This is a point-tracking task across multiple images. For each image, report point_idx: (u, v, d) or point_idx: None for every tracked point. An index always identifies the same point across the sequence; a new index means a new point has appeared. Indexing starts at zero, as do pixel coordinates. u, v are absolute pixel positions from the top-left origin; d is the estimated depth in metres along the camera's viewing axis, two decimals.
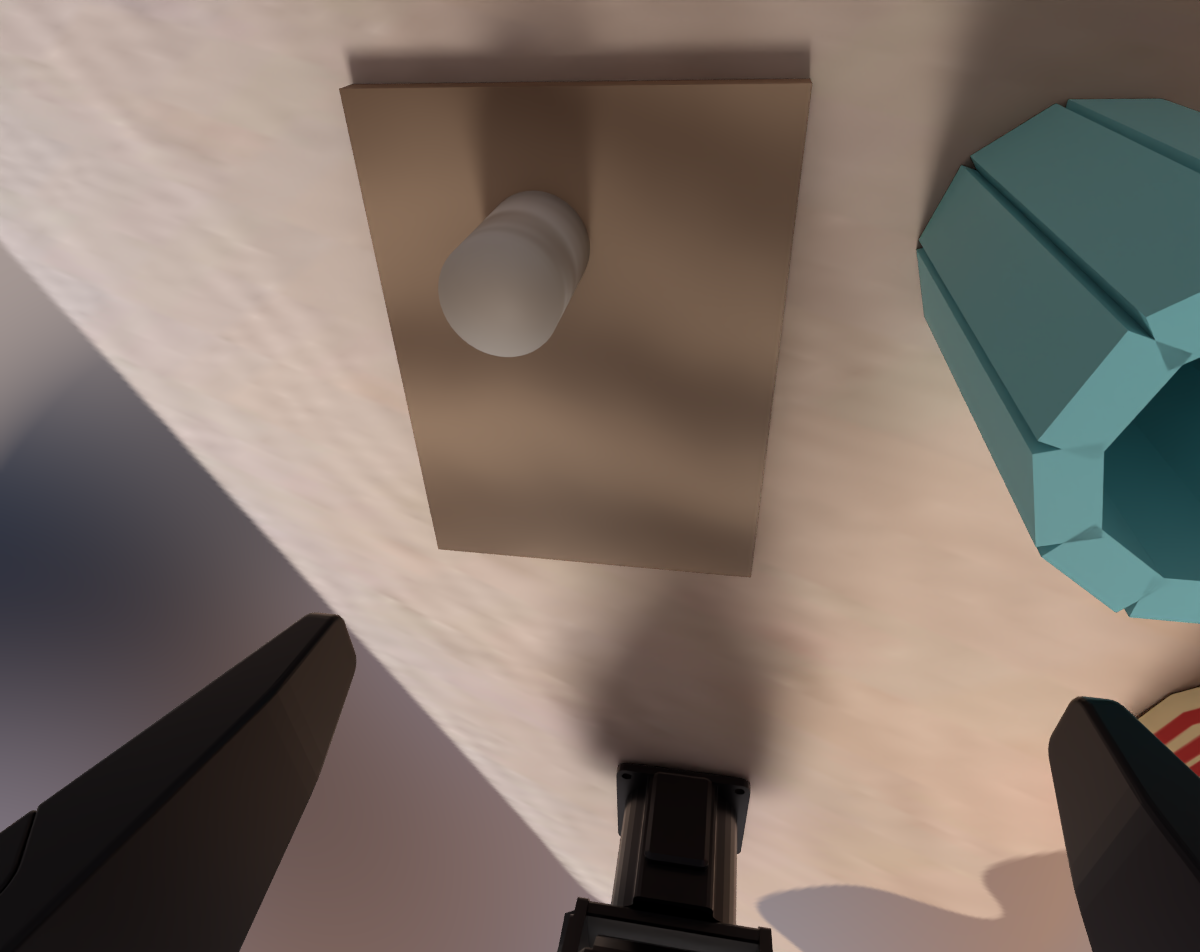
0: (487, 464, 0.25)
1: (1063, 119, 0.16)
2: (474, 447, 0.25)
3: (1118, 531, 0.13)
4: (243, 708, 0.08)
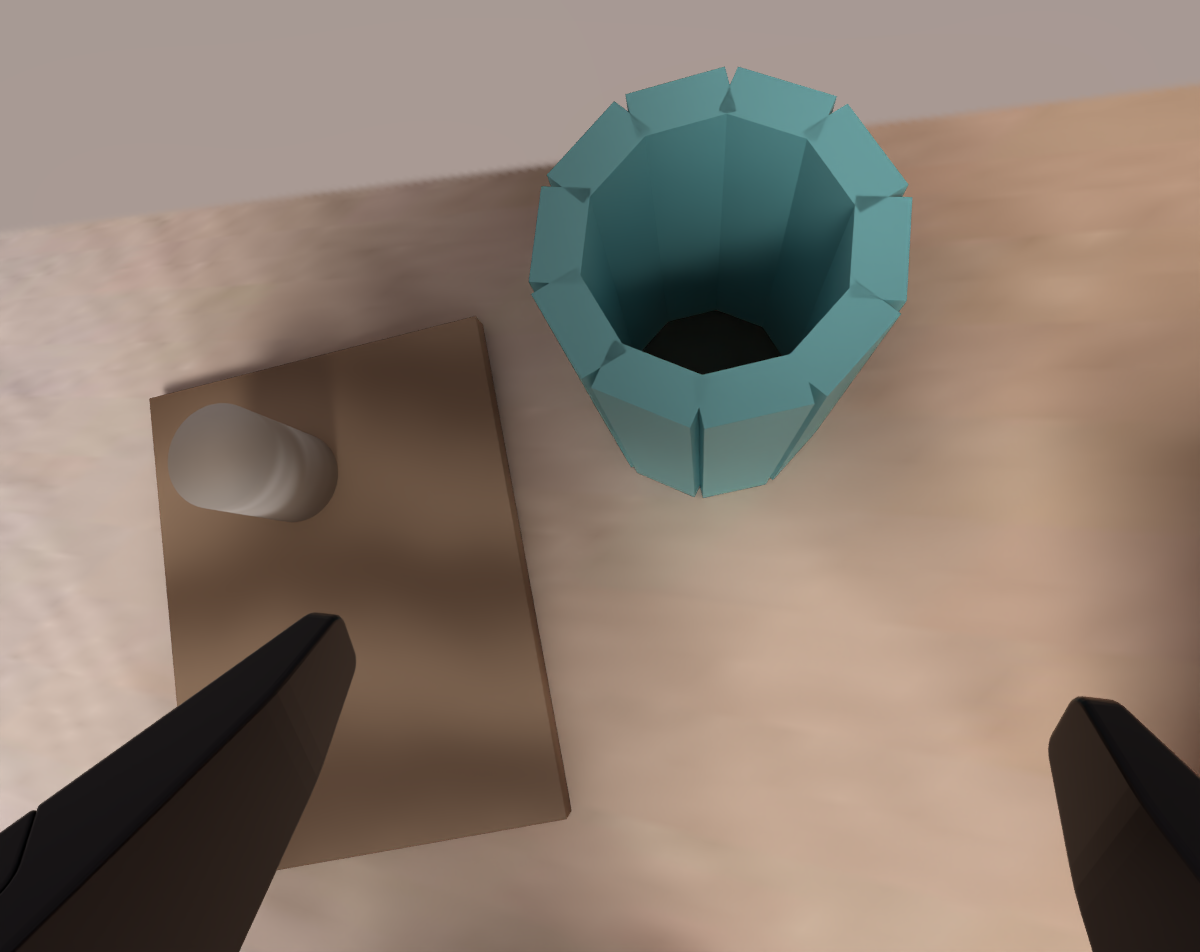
0: None
1: None
2: None
3: None
4: (243, 708, 0.08)
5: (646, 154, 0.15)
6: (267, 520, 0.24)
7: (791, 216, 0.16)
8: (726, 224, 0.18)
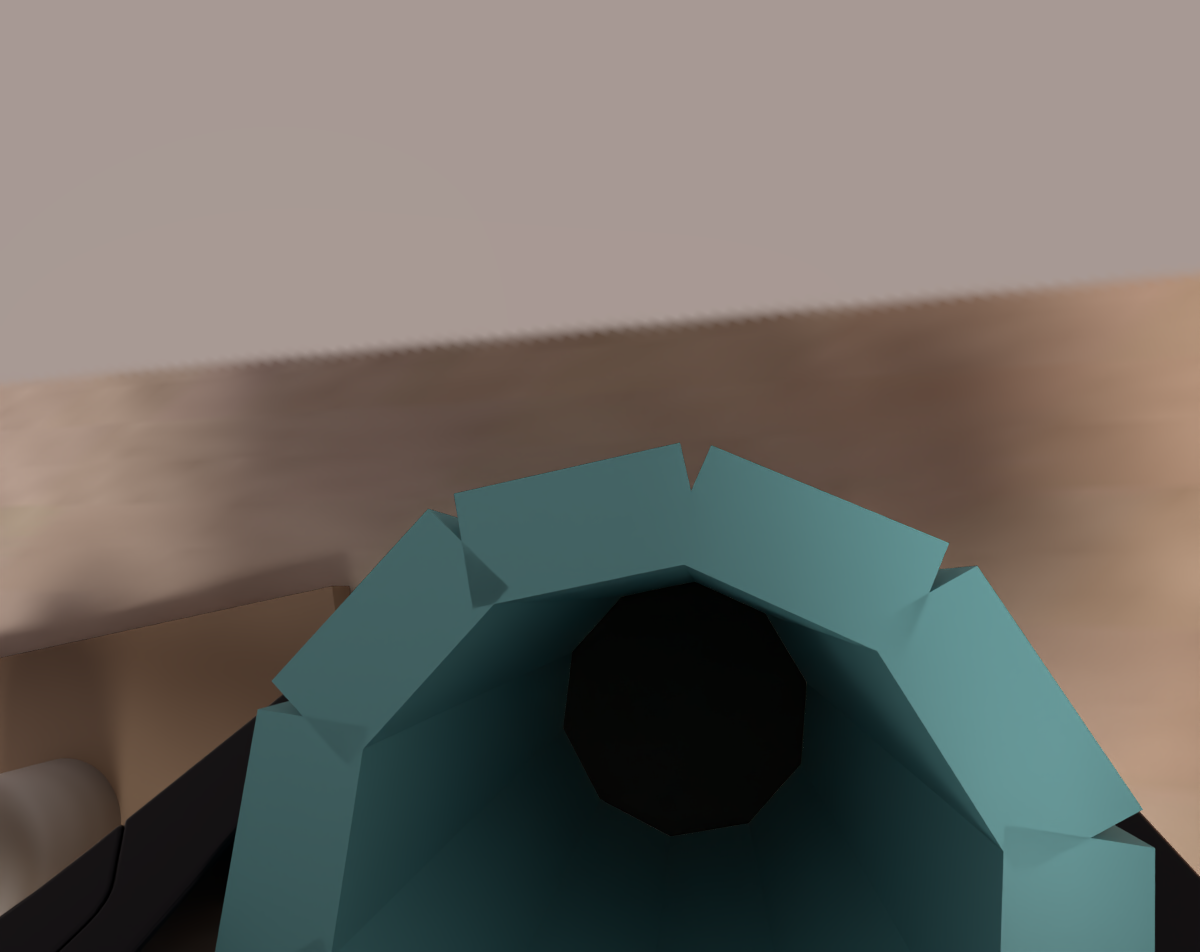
0: None
1: None
2: None
3: None
4: None
5: (510, 603, 0.07)
6: None
7: (823, 633, 0.08)
8: (700, 580, 0.10)
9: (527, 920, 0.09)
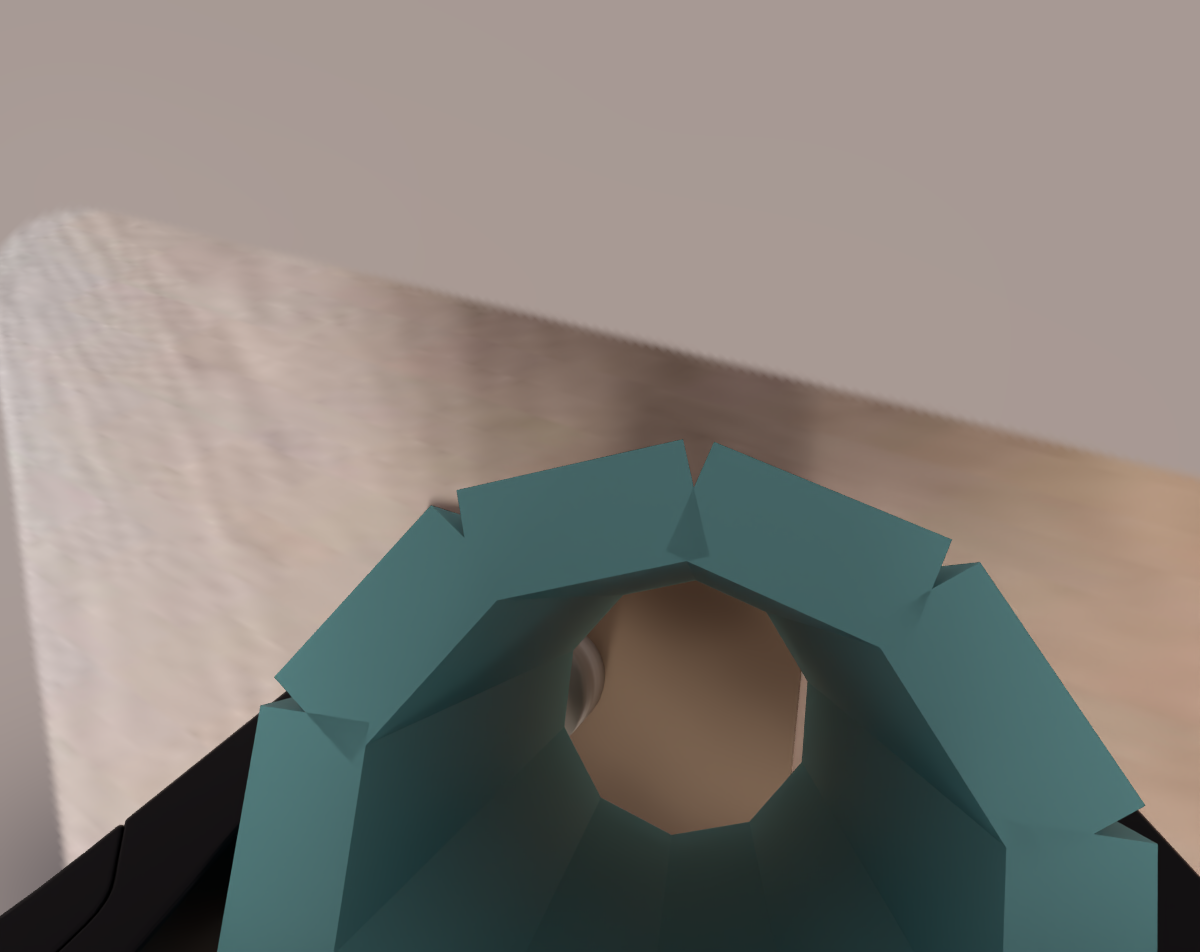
0: None
1: None
2: None
3: None
4: None
5: (512, 600, 0.07)
6: None
7: (825, 631, 0.08)
8: (702, 578, 0.10)
9: (529, 917, 0.09)
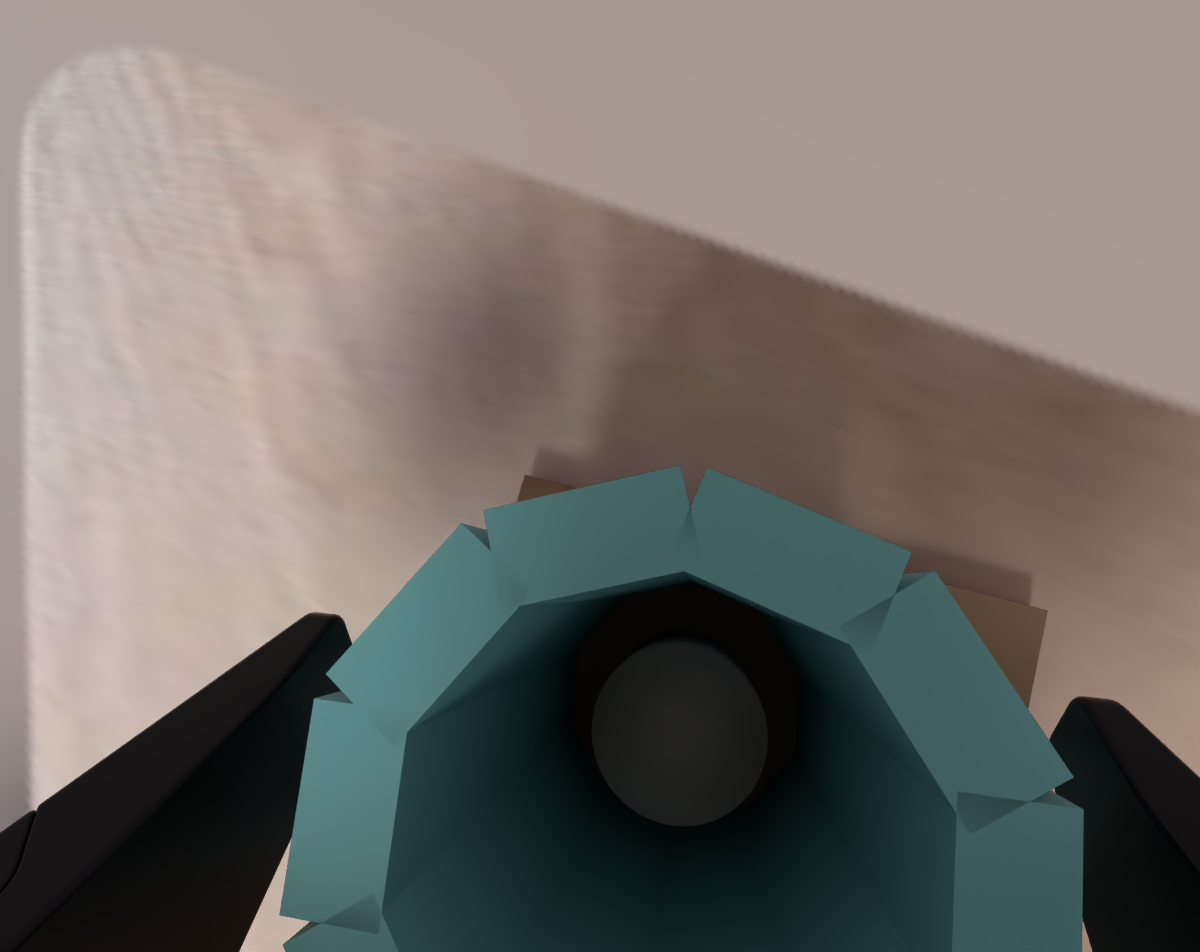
0: None
1: None
2: None
3: None
4: (243, 708, 0.08)
5: (531, 606, 0.08)
6: None
7: (809, 630, 0.09)
8: (699, 582, 0.11)
9: (543, 892, 0.10)
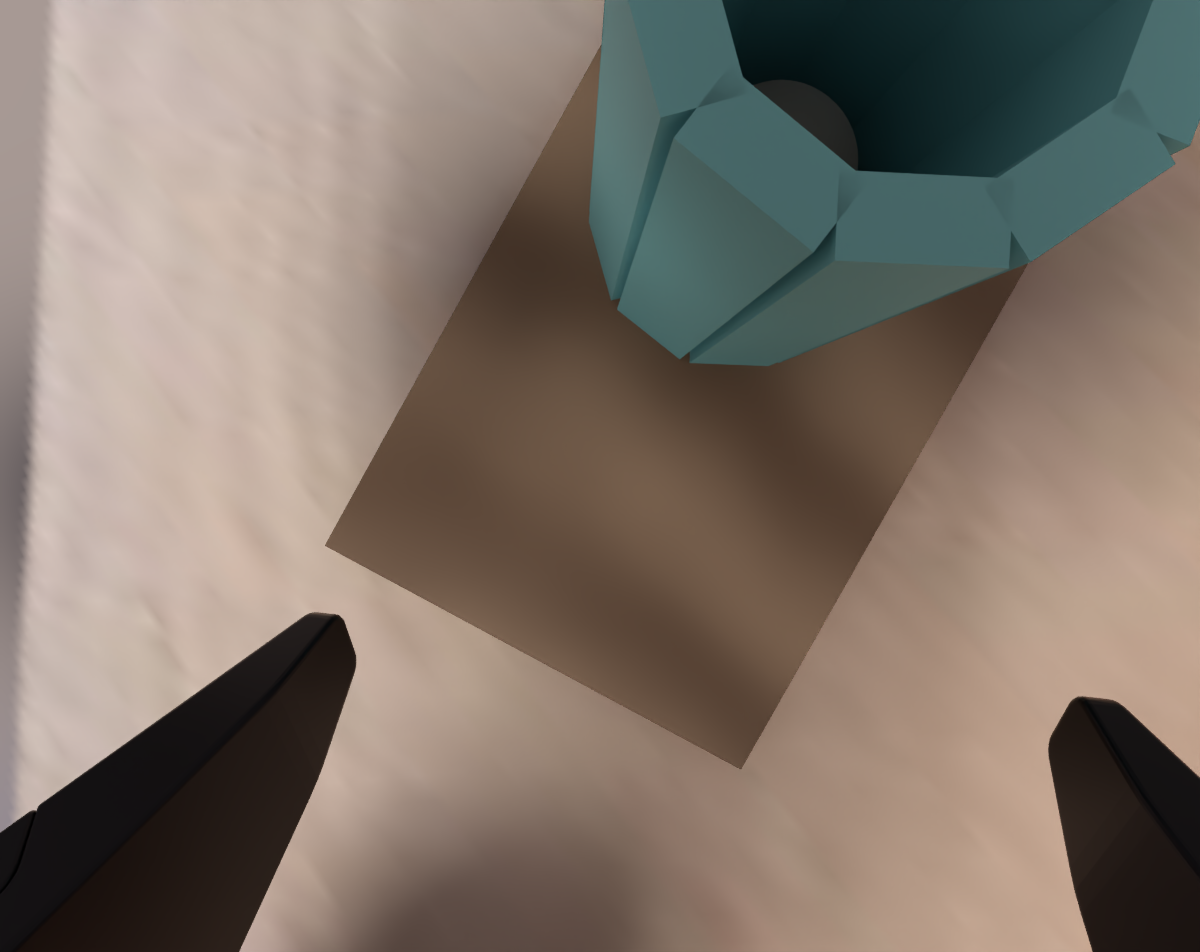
0: (497, 445, 0.18)
1: None
2: (497, 415, 0.18)
3: None
4: (243, 708, 0.08)
5: None
6: None
7: None
8: None
9: None
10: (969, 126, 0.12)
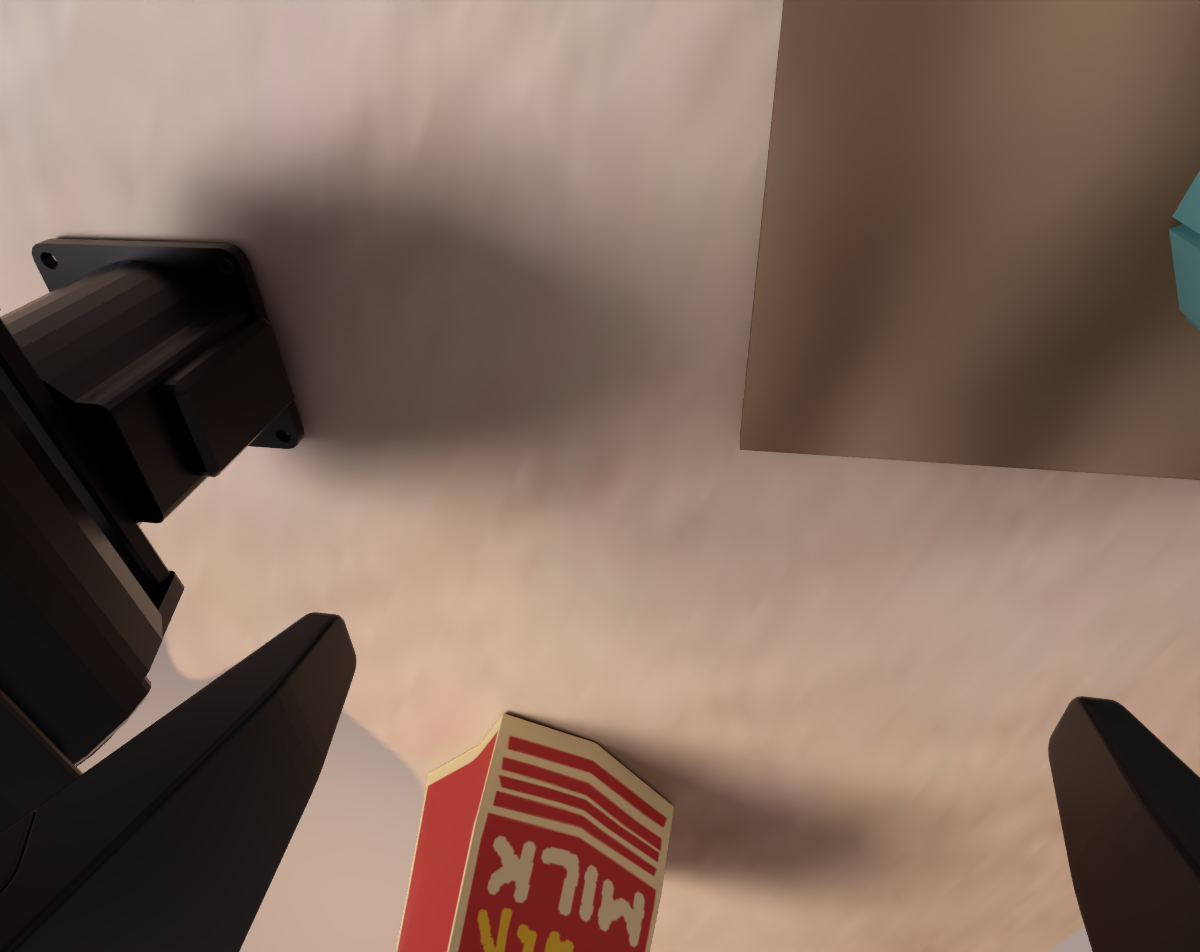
0: (1003, 59, 0.14)
1: None
2: (1047, 35, 0.14)
3: None
4: (243, 709, 0.08)
5: None
6: None
7: None
8: None
9: None
10: None
